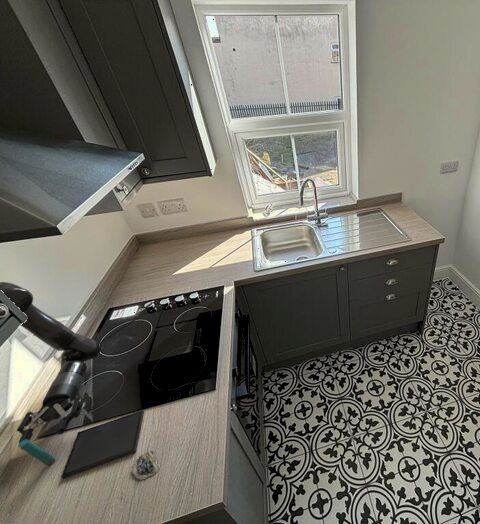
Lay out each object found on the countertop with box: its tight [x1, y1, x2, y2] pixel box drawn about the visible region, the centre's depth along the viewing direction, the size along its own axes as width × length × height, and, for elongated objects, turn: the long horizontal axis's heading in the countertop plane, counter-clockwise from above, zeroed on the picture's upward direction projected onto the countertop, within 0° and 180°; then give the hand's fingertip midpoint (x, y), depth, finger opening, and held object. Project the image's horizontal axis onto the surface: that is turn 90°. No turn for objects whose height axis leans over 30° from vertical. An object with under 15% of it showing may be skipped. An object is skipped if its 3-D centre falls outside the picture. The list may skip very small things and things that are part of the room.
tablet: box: [60, 410, 145, 480], centre depth 88 cm, size 18×13×1 cm
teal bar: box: [17, 439, 56, 467], centre depth 81 cm, size 2×2×12 cm
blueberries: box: [130, 450, 161, 481], centre depth 82 cm, size 7×8×2 cm
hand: (41, 438), depth 83 cm, fingers open, 8 cm apart
